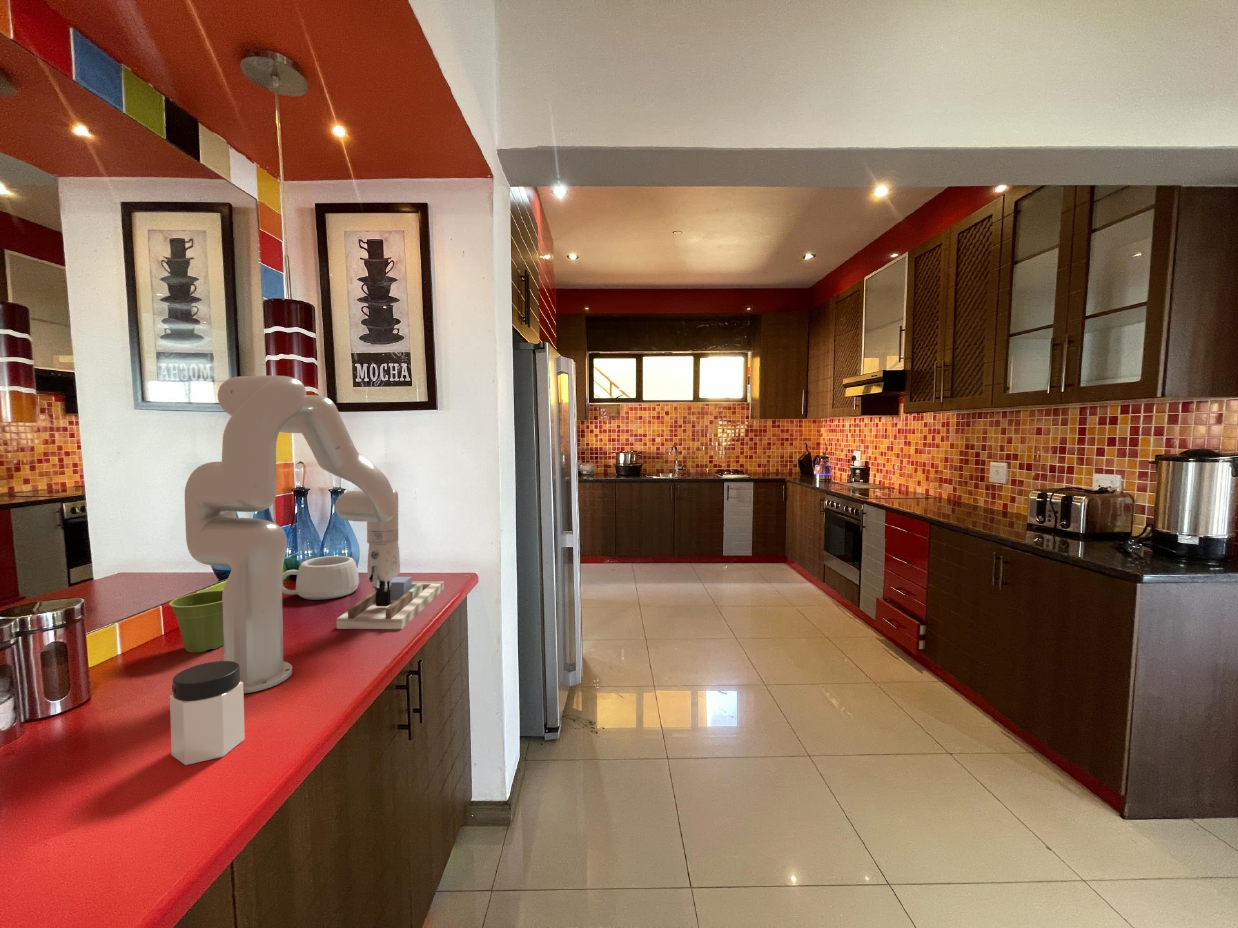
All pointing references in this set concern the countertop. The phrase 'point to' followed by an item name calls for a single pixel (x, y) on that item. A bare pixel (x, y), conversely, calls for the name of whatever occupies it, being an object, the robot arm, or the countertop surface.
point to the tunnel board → (390, 608)
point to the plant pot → (200, 620)
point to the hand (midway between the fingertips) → (383, 605)
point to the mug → (324, 578)
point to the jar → (206, 711)
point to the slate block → (400, 586)
